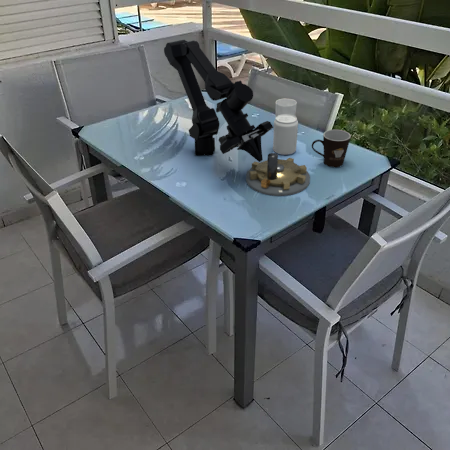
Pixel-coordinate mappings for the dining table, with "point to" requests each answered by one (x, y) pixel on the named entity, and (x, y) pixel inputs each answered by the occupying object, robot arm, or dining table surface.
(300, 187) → the sprocket base
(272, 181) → the sprocket
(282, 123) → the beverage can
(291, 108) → the white translucent cylinder
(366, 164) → the dining table surface
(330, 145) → the coffee mug
